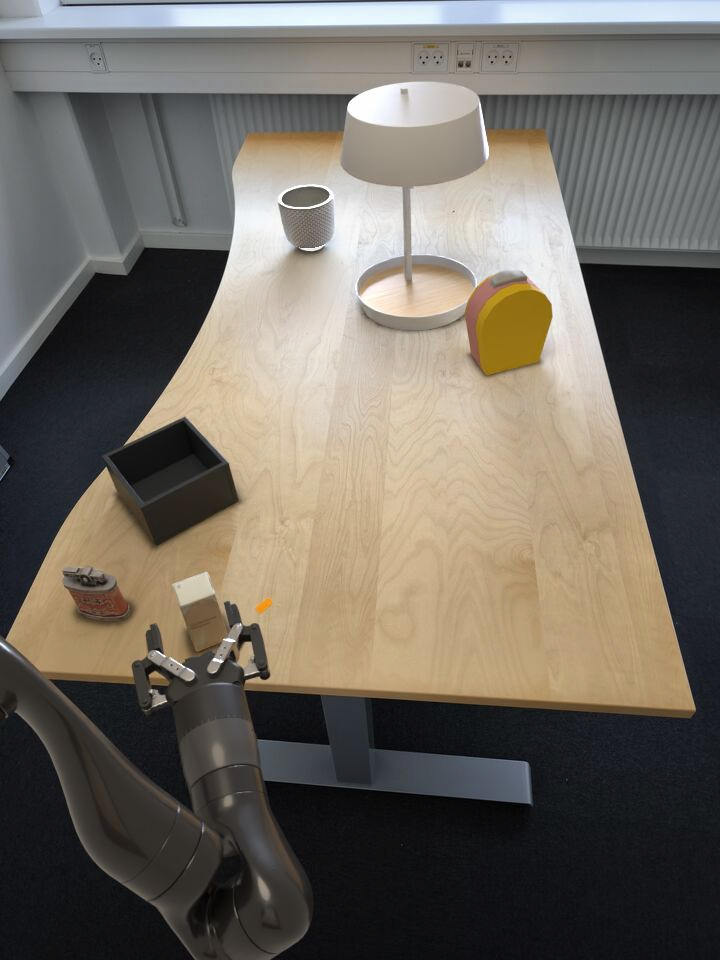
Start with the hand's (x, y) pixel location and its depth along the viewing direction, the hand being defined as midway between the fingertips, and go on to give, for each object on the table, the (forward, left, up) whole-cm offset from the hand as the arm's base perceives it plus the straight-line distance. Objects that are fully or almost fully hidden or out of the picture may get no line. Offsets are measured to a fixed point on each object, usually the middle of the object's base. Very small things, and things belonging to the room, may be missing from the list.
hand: (191, 616), depth 85 cm
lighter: (-7, +24, -20) cm, 32 cm away
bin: (+12, +39, -19) cm, 45 cm away
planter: (+81, +99, -20) cm, 129 cm away
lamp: (+83, +60, -20) cm, 105 cm away
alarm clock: (+82, +31, -20) cm, 90 cm away
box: (+3, +11, -20) cm, 23 cm away
